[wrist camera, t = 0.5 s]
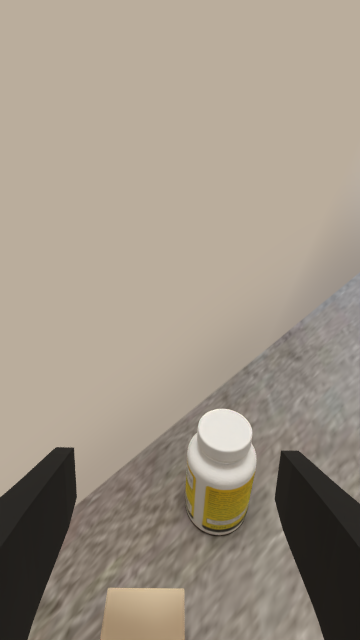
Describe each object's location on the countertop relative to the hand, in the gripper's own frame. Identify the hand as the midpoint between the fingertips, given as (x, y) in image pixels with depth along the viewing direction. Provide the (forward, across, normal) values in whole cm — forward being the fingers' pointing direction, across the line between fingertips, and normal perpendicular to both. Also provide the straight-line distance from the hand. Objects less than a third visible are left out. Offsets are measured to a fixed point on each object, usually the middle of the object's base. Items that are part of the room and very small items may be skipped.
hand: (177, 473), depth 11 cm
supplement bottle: (+14, -4, +15) cm, 21 cm away
